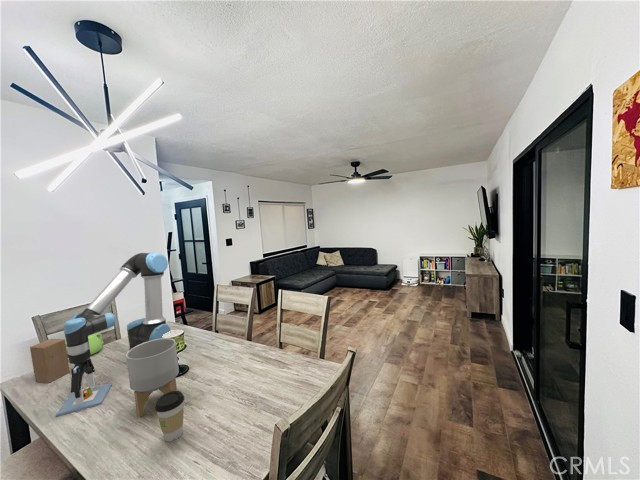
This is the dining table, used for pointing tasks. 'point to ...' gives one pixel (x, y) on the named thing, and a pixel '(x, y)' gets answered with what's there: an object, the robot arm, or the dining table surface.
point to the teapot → (94, 343)
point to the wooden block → (49, 360)
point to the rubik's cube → (86, 392)
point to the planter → (152, 369)
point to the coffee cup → (170, 414)
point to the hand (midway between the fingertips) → (85, 394)
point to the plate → (91, 401)
